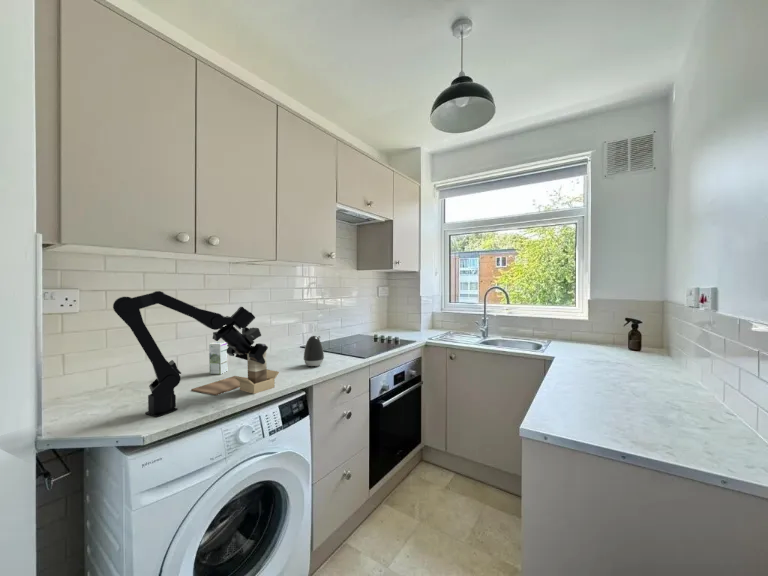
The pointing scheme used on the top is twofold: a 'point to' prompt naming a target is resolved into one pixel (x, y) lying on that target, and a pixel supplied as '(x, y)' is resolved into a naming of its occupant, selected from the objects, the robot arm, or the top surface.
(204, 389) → the walnut board
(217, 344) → the syrup box
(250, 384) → the carton
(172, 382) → the robot arm
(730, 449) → the top surface
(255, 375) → the tall box
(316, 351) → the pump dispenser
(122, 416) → the top surface
